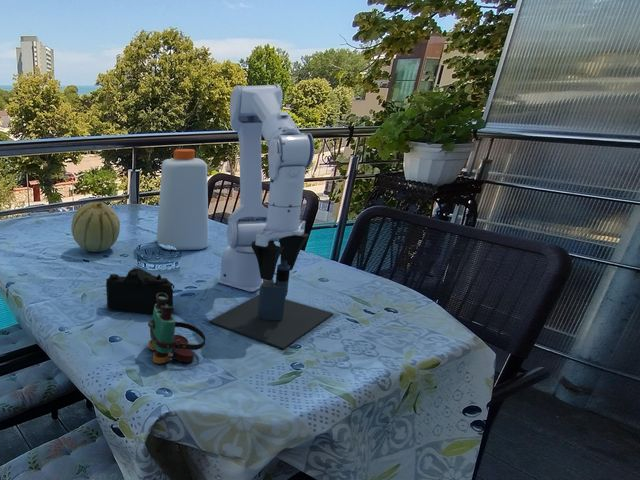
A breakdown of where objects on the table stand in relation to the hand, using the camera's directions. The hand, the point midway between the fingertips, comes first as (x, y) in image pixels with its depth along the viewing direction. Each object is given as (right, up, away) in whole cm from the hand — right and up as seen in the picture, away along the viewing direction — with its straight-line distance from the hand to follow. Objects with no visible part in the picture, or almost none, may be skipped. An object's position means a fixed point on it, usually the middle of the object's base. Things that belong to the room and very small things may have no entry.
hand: (276, 274), depth 90 cm
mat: (0, -9, +4) cm, 10 cm away
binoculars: (-21, -15, -7) cm, 26 cm away
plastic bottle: (-10, +12, +54) cm, 56 cm away
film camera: (-26, -6, +12) cm, 29 cm away
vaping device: (0, -9, +3) cm, 9 cm away
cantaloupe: (-37, +9, +51) cm, 63 cm away
